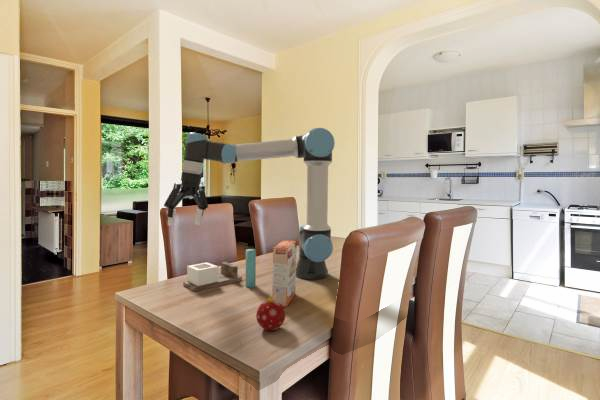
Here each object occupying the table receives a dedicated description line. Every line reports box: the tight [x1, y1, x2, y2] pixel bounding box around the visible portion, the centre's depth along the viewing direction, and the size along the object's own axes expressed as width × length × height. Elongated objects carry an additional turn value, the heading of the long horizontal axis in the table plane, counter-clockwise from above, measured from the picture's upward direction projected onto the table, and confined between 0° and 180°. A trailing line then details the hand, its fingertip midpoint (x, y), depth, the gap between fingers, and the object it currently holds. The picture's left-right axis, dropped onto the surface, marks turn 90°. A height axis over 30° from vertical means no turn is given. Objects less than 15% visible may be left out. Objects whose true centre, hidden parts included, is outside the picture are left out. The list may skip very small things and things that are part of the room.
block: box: [186, 262, 219, 286], centre depth 141 cm, size 9×9×6 cm
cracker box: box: [271, 240, 297, 308], centre depth 125 cm, size 14×6×21 cm, turn 168°
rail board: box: [182, 261, 243, 293], centre depth 144 cm, size 10×22×6 cm, turn 134°
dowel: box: [245, 248, 257, 289], centre depth 140 cm, size 4×4×15 cm
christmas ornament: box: [255, 295, 286, 331], centre depth 102 cm, size 9×9×10 cm
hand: (184, 225), depth 137 cm, fingers open, 13 cm apart
